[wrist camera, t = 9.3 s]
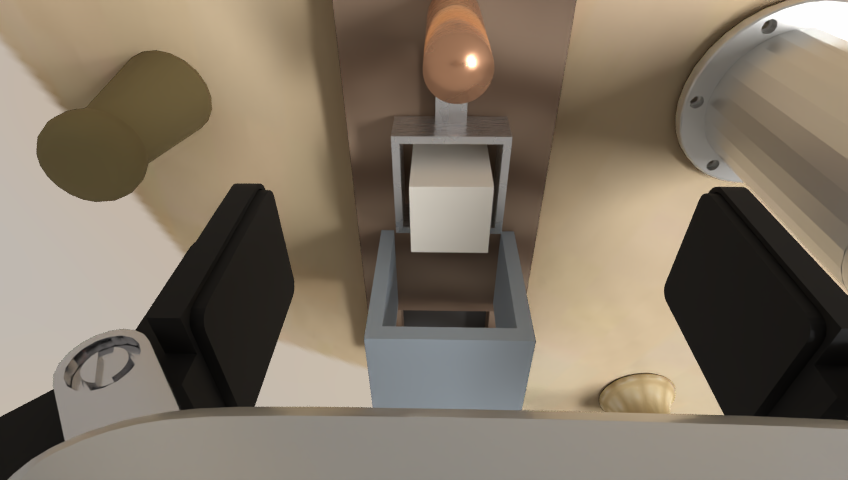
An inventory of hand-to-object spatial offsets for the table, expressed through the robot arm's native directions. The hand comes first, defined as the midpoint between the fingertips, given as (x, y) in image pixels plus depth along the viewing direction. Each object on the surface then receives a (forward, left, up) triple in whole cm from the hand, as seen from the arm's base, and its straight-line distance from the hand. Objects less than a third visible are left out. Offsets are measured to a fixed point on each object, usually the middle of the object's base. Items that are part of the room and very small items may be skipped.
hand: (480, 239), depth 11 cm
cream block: (0, +11, -22) cm, 24 cm away
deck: (0, +15, -24) cm, 29 cm away
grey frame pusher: (0, +6, -21) cm, 22 cm away
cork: (+20, +6, -24) cm, 32 cm away
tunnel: (0, +20, -22) cm, 30 cm away
